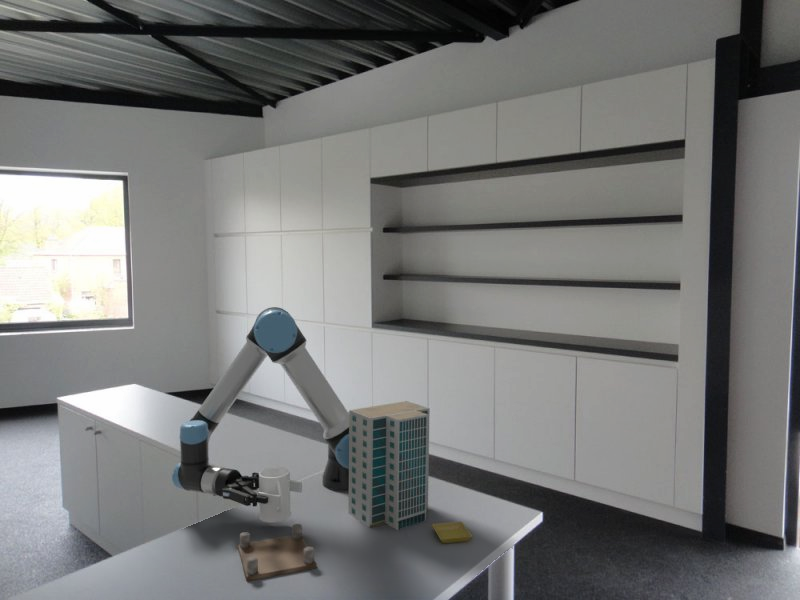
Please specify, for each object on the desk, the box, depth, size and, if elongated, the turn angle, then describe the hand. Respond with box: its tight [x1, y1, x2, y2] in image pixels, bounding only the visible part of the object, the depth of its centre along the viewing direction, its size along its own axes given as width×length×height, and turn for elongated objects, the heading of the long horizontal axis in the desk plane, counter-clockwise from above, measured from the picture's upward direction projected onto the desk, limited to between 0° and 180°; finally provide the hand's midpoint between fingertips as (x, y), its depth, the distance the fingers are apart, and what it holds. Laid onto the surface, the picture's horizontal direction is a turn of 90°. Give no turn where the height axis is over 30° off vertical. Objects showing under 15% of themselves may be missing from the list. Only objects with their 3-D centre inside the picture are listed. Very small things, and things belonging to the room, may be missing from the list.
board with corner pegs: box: [237, 523, 318, 582], centre depth 138 cm, size 16×16×4 cm
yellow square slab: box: [431, 521, 473, 544], centre depth 151 cm, size 9×9×2 cm
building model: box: [348, 400, 430, 531], centre depth 163 cm, size 20×16×30 cm
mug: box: [258, 466, 292, 524], centre depth 152 cm, size 12×8×12 cm
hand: (290, 493), depth 151 cm, fingers closed on mug, 9 cm apart
